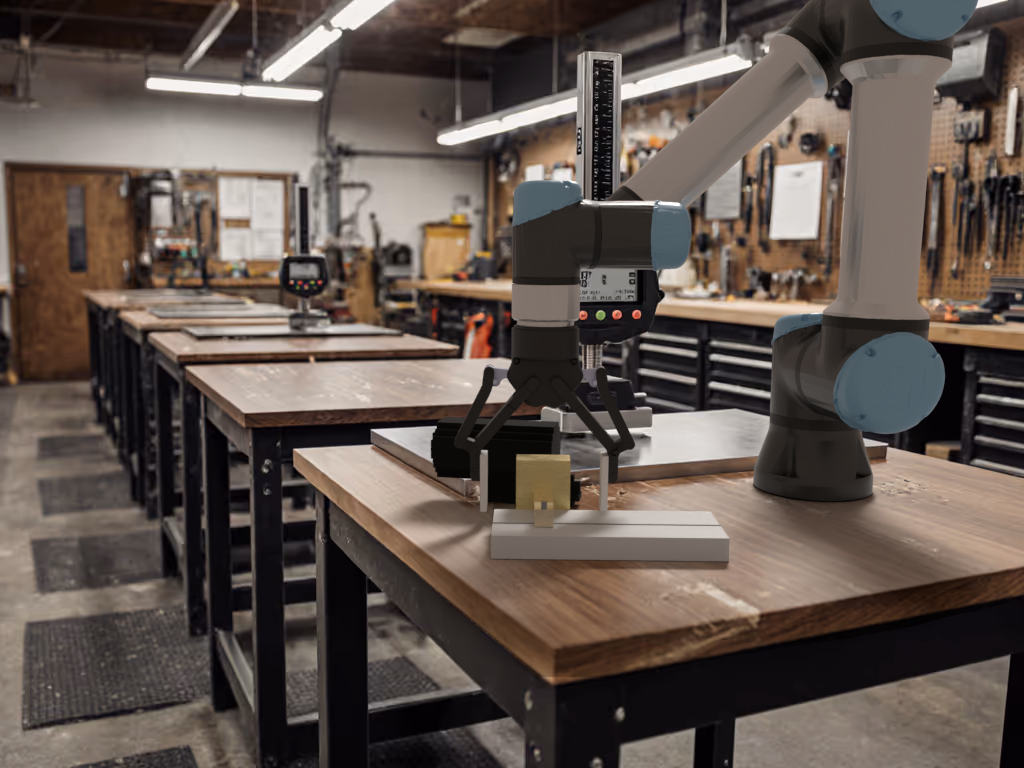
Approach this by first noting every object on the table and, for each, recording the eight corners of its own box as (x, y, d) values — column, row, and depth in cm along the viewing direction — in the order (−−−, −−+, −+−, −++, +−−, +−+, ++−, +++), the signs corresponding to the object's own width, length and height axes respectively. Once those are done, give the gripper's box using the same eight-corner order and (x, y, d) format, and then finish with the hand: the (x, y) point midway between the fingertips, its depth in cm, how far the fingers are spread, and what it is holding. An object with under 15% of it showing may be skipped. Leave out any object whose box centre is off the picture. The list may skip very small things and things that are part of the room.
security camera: (576, 513, 113) (577, 430, 112) (427, 503, 117) (426, 424, 115) (583, 498, 120) (585, 420, 118) (442, 490, 123) (442, 414, 122)
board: (709, 532, 105) (710, 510, 105) (728, 561, 96) (729, 537, 95) (494, 530, 106) (494, 508, 106) (490, 558, 96) (490, 535, 96)
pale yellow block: (568, 523, 109) (569, 454, 108) (572, 550, 99) (573, 475, 98) (516, 522, 109) (516, 454, 108) (514, 549, 99) (515, 474, 98)
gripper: (653, 321, 109) (648, 501, 112) (436, 319, 109) (437, 499, 112) (663, 326, 101) (657, 519, 104) (429, 324, 102) (430, 517, 104)
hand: (543, 509), depth 108 cm, fingers open, 13 cm apart
